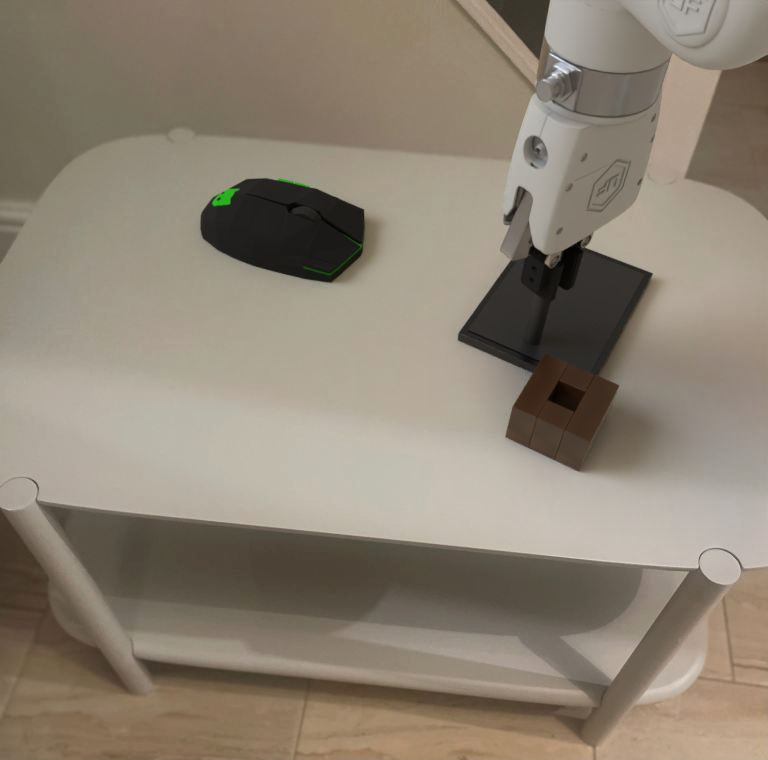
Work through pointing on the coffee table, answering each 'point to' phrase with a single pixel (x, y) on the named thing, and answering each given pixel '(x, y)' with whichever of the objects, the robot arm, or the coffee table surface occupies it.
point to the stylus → (537, 319)
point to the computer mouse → (285, 228)
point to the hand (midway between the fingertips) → (546, 284)
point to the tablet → (559, 315)
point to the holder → (561, 411)
